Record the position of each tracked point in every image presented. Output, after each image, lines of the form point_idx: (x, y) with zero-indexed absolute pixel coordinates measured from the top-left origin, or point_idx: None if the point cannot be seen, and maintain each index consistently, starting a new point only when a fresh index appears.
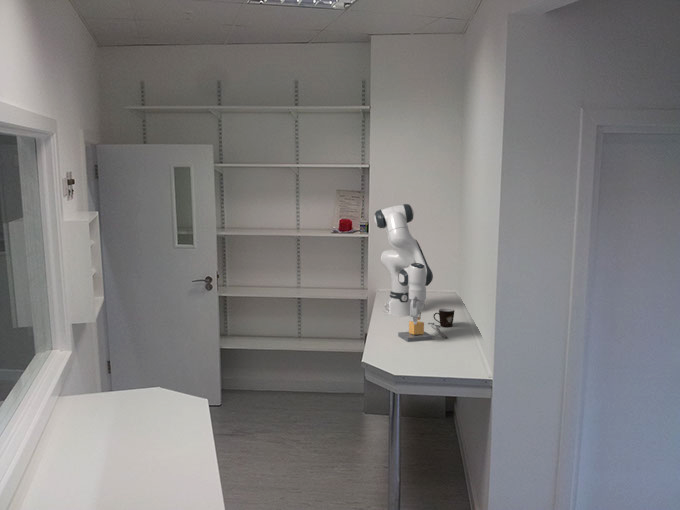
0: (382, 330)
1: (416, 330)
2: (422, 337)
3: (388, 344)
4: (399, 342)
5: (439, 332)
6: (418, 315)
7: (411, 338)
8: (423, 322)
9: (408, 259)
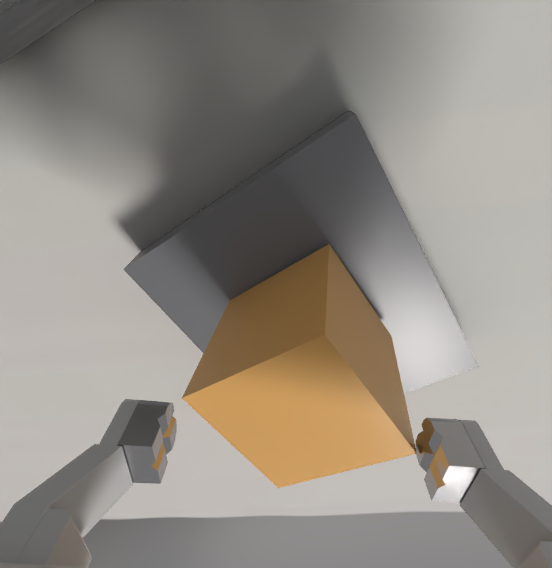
0: (159, 487)
1: (382, 344)
2: (417, 241)
3: (543, 441)
4: (482, 390)
5: (8, 56)
6: (116, 482)
7: (461, 335)
8: (331, 341)
9: None
